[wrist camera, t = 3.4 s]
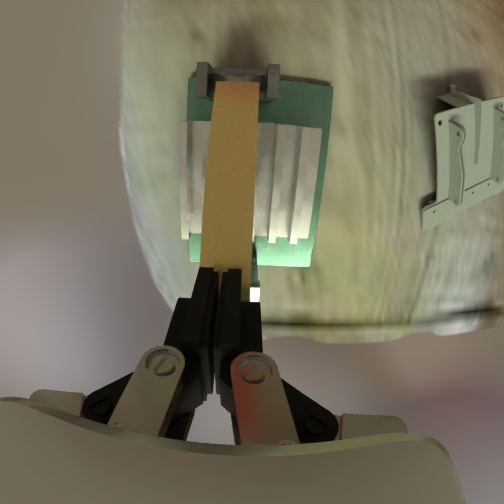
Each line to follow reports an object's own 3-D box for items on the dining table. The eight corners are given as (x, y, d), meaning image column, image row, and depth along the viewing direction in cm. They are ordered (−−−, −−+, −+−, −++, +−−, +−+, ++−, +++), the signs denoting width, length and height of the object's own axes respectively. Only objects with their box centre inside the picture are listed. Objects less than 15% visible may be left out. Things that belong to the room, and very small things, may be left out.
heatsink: (190, 78, 17) (161, 63, 11) (330, 87, 18) (368, 78, 11) (191, 258, 25) (173, 310, 19) (307, 263, 25) (325, 315, 19)
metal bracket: (430, 118, 14) (524, 94, 11) (387, 96, 18) (485, 75, 15) (429, 249, 23) (512, 202, 20) (403, 215, 27) (484, 176, 24)
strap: (213, 79, 14) (212, 70, 13) (264, 81, 14) (265, 71, 13) (195, 302, 13) (191, 305, 12) (254, 305, 14) (256, 309, 12)
